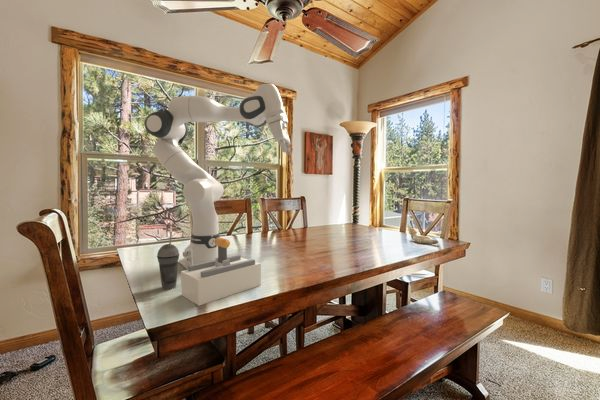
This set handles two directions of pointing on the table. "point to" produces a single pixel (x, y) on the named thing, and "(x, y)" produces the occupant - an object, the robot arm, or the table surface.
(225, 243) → the lever
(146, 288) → the table surface
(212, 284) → the box
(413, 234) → the lying animal figurine
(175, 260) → the beverage cup
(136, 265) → the table surface
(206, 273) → the grey slotted rail
